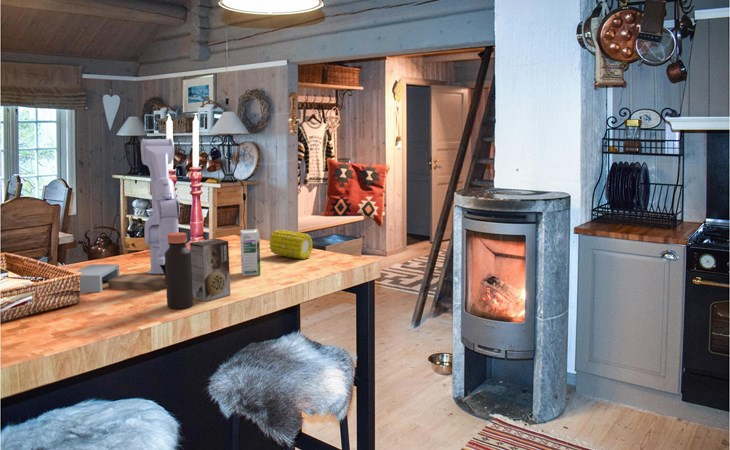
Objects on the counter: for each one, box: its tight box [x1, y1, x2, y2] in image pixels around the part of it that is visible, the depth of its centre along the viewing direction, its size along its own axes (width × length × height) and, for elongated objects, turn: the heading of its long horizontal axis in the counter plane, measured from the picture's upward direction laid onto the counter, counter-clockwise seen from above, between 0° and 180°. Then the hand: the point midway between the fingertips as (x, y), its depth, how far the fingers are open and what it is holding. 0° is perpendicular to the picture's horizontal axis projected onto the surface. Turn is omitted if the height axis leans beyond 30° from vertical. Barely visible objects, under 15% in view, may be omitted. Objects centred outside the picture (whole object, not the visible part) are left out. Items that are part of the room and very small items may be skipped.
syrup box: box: [240, 229, 261, 277], centre depth 213 cm, size 6×6×14 cm
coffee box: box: [189, 237, 231, 302], centre depth 186 cm, size 9×6×16 cm
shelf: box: [76, 263, 120, 293], centre depth 198 cm, size 9×14×5 cm, turn 179°
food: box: [269, 229, 313, 260], centre depth 239 cm, size 15×12×10 cm
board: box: [107, 273, 166, 292], centre depth 198 cm, size 16×8×2 cm, turn 77°
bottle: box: [165, 232, 194, 310], centre depth 176 cm, size 7×7×20 cm
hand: (171, 283), depth 198 cm, fingers closed
